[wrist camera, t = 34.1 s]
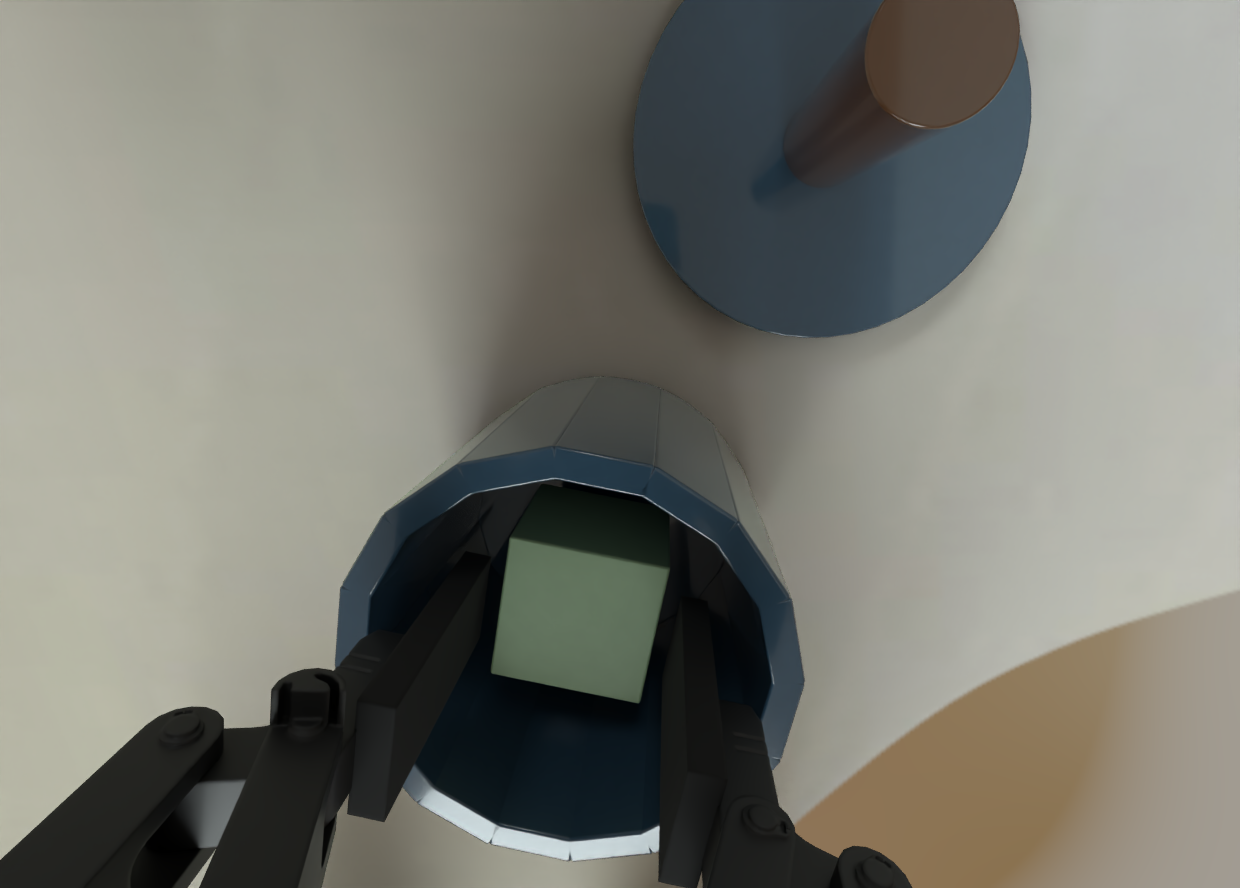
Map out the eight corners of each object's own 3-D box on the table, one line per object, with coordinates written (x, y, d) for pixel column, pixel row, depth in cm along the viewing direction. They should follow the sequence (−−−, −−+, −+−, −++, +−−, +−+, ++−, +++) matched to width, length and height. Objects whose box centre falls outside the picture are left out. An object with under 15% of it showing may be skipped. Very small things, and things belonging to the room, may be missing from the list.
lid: (670, -96, 20) (671, -449, 10) (1067, -35, 20) (1464, -341, 10) (609, 303, 23) (565, 326, 14) (946, 361, 23) (1151, 427, 13)
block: (541, 481, 22) (508, 536, 17) (670, 507, 21) (670, 568, 17) (523, 597, 23) (489, 674, 18) (645, 621, 23) (639, 705, 18)
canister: (484, 349, 24) (352, 404, 14) (780, 408, 24) (861, 508, 14) (450, 611, 27) (323, 809, 17) (712, 666, 27) (738, 899, 17)
